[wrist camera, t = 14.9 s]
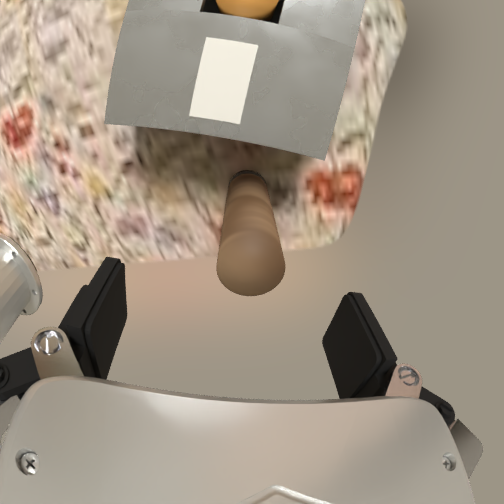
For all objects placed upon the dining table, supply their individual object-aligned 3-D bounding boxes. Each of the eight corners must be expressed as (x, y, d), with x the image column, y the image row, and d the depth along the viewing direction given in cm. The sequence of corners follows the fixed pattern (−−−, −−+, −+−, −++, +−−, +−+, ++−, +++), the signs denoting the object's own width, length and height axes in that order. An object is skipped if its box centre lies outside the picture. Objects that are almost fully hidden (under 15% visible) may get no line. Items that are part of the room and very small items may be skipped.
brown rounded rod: (245, 213, 25) (247, 306, 15) (220, 187, 24) (202, 266, 13) (274, 191, 24) (298, 272, 14) (249, 162, 23) (255, 224, 12)
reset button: (267, 35, 16) (273, 22, 13) (213, 26, 16) (207, 11, 12) (279, -7, 14) (286, -26, 11) (226, -16, 14) (222, -37, 10)
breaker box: (305, 144, 22) (324, 160, 17) (136, 115, 20) (103, 124, 15) (346, -20, 14) (373, -45, 9) (178, -49, 12) (161, -81, 7)
